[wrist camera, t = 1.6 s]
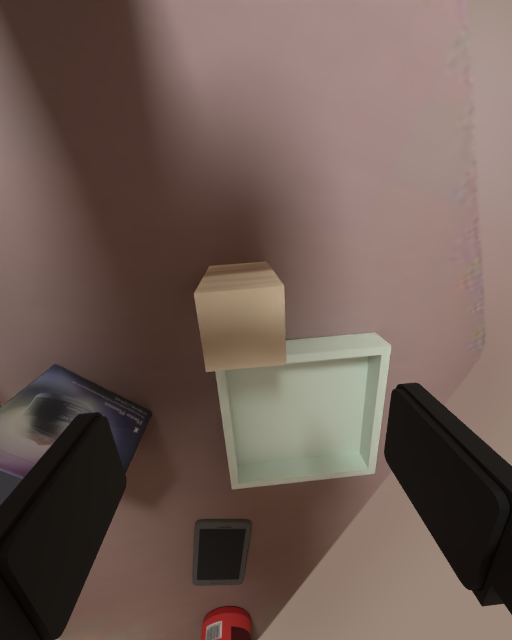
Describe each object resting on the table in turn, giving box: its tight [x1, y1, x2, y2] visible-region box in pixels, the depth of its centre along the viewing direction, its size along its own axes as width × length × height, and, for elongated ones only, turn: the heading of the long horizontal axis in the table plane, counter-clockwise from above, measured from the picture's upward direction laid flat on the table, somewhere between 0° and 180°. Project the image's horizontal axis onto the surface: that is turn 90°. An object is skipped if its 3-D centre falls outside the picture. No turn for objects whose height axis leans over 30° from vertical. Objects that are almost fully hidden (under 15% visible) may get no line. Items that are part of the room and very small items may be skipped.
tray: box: [215, 332, 391, 489], centre depth 27 cm, size 16×16×3 cm
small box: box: [0, 364, 152, 505], centre depth 23 cm, size 11×6×10 cm, turn 54°
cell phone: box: [193, 519, 251, 585], centre depth 37 cm, size 7×14×1 cm, turn 174°
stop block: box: [194, 261, 286, 372], centre depth 20 cm, size 5×5×9 cm
